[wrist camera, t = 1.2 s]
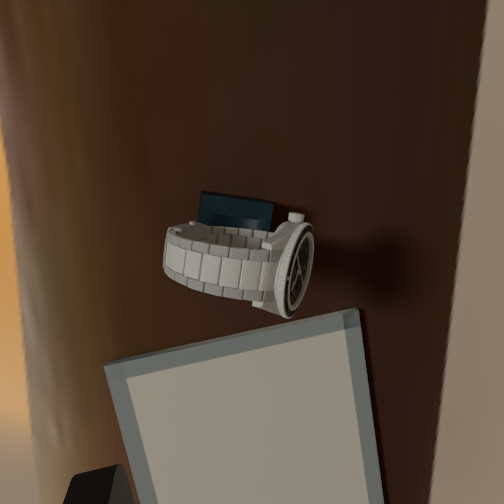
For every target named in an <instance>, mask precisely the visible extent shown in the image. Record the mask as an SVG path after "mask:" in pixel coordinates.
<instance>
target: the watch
mask: <svg viewBox="0 0 504 504" xmlns="http://www.w3.org/2000/svg"><path fill="white" fill-rule="evenodd" d="M273 207H274V204H273V203H271V202H269V201H267V200H263V199H257V198H250V197H243V196H236V195H229V194H222V193H215V192H208V191H201V198H200V205H199V213H198V220H197V222H194V221H191V222H190V223H188V224H180V225H175V226H172V227H170V228H168V231H167V235H166V241H165V248H164V258H163V268H164V272H165V273H166V274H167V275H168V276H169V277H170V278H172V279H174V280H175V281H177V282H179V283H181V284H183V285H186V286H187V287H190V288H192V289H195V290H198V291H201V292H203V291H204V292H206V293H210V294H213V295H217V296H224V297H229V298H234V299H240V300H242V299H244V300H250V301H253V304H252V306H254V307H257V308H261V309H264V310H266V311H268V312H271V313H275V314H278V315H281V316H282V317H284V318H288V319H289V318H291V317H293V316H294V314H295V313H296V312H297V310H298V308H299V306H300V304H301V302H302V300H303V298H304V295H305V292H306V289H307V286H308V282H309V279H310V275H311V270H312V265H313V258H314V249H315V236H314V229H313V226H312V225H311V224H310V223H303V222H304V216H305V215H303V214H300V213H295V212H290V213H289V218H288V220H289V221H287V222H284V223H282V224H281V225H279V227H278V228H277V230H276V231H275V232H274V233H272V232H270V226H271V219H272V213H273ZM223 291H224V293H223ZM243 292H244V294H243Z"/></svg>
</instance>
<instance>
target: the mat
mask: <svg viewBox="0 0 504 504" xmlns="http://www.w3.org/2000/svg"><path fill="white" fill-rule="evenodd" d="M104 369H105V373H106V377H107V380H108V384H109V388H110V392H111V395H112V399H113V403H114V407H115V411H116V414H117V418H118V422H119V426H120V429H121V433H122V437H123V441H124V444H125V448H126V452H127V456H128V459H129V463H130V467H131V471H132V474H133V478H134V482H135V486H136V489H137V493H138V497H139V501H140V504H384V500H383V492H382V484H381V477H380V469H379V462H378V454H377V446H376V439H375V431H374V424H373V416H372V408H371V401H370V393H369V386H368V378H367V370H366V363H365V355H364V348H363V340H362V332H361V325H360V317H359V310H358V309H356V308H352V309H347V310H343V311H338V312H333V313H329V314H324V315H320V316H315V317H311V318H306V319H301V320H297V321H292V322H288V323H283V324H279V325H274V326H270V327H265V328H260V329H256V330H251V331H247V332H242V333H238V334H233V335H229V336H224V337H219V338H215V339H210V340H206V341H201V342H197V343H192V344H187V345H183V346H178V347H174V348H169V349H165V350H160V351H156V352H151V353H146V354H142V355H137V356H133V357H128V358H124V359H119V360H115V361H110V362H105V365H104Z"/></svg>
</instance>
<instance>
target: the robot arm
mask: <svg viewBox="0 0 504 504" xmlns="http://www.w3.org/2000/svg"><path fill="white" fill-rule="evenodd" d="M63 504H135V503H134V499H133V496H132V492H131V488H130V485H129V481H128V478H127V474H126V471H125V469H124V467H123V466H122V464H117V465H112V466H108V467H104V468H100V469H96V470H92V471H88V472H84V473H80V474H76V475H74V476H73V478H72V480H71V482H70V485H69V488H68V490H67V493H66V496H65V499H64V502H63Z"/></svg>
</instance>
